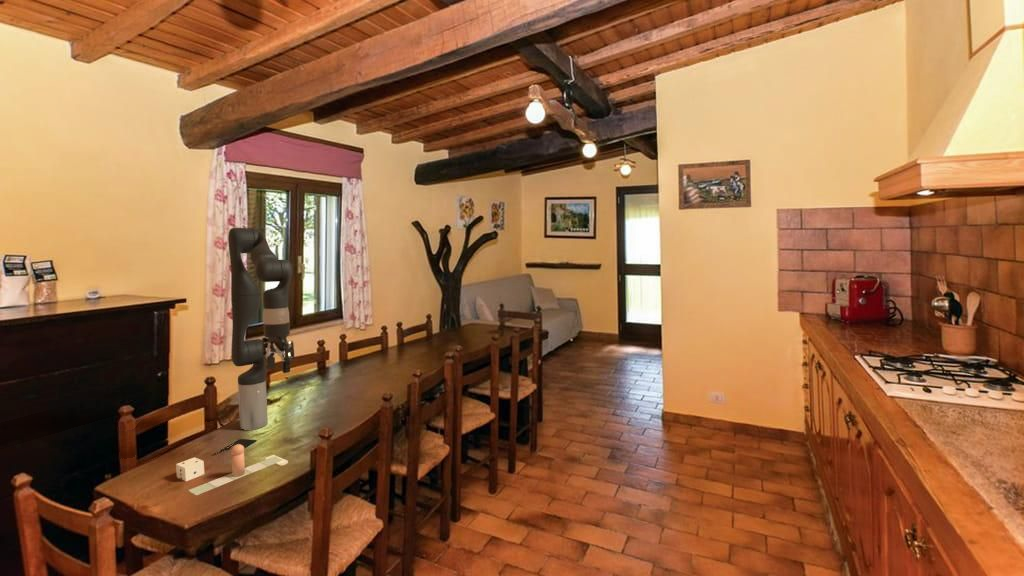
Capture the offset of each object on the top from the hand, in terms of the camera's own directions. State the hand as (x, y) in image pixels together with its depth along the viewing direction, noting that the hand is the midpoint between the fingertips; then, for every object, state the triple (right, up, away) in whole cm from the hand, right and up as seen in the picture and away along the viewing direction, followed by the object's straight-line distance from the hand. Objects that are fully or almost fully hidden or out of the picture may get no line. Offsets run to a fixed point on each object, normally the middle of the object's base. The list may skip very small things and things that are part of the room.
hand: (278, 370), depth 150 cm
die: (-19, -30, -14) cm, 38 cm away
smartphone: (-18, -28, +6) cm, 34 cm away
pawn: (-5, -28, -13) cm, 32 cm away
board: (-5, -29, -13) cm, 33 cm away
